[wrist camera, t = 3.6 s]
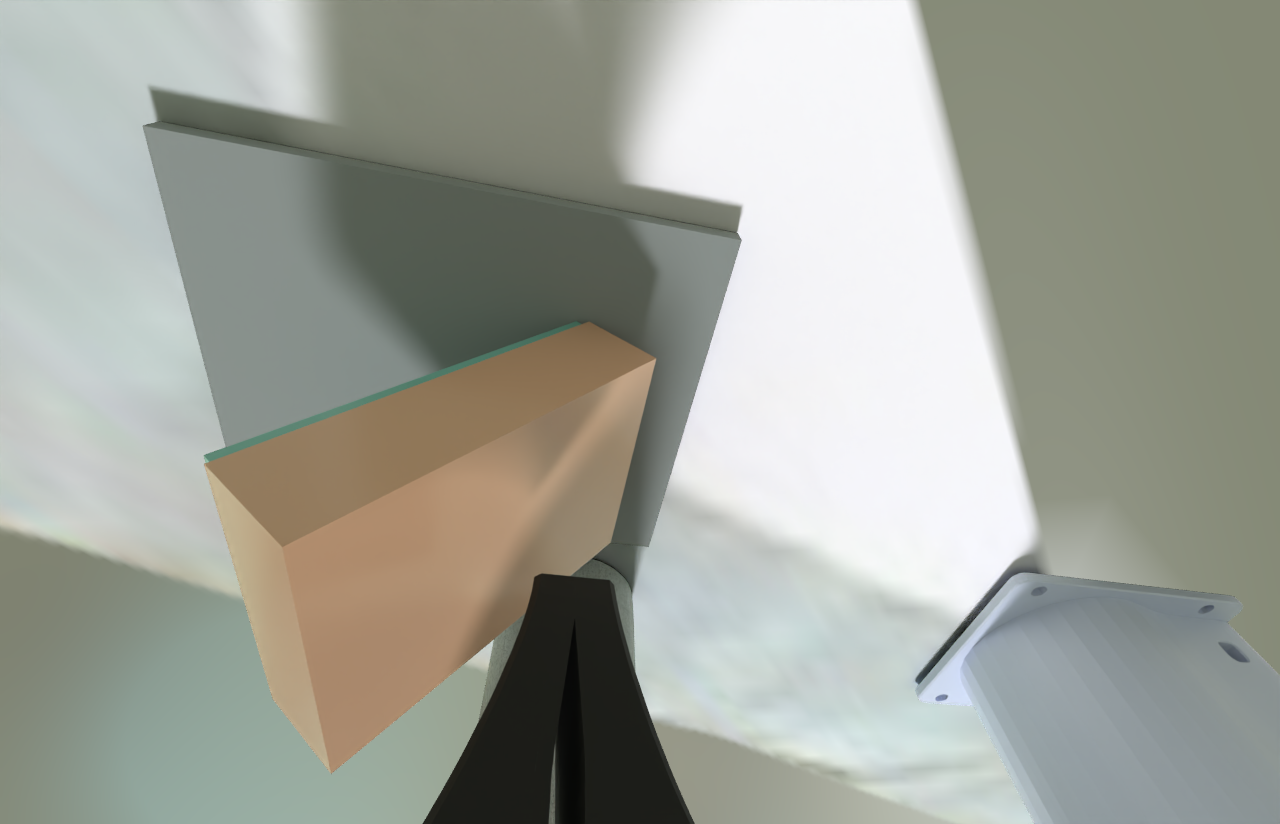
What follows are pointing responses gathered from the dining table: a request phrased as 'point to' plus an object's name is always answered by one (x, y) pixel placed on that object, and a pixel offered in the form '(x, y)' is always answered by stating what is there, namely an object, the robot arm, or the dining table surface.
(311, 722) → the tile
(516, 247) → the mat
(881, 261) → the dining table surface
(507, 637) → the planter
